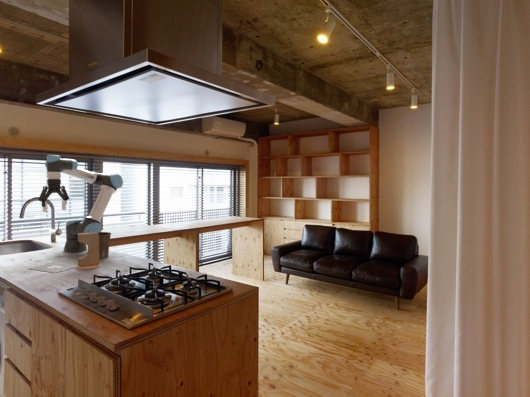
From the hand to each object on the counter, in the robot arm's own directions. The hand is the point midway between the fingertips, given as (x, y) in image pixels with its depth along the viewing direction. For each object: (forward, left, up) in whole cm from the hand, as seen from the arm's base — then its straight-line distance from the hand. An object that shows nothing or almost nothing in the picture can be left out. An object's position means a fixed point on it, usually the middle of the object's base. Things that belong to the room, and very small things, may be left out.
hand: (54, 211), depth 216 cm
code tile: (+14, +16, -33) cm, 39 cm away
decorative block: (+4, +32, -32) cm, 45 cm away
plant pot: (-17, +19, -33) cm, 42 cm away
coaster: (+4, +32, -33) cm, 46 cm away
